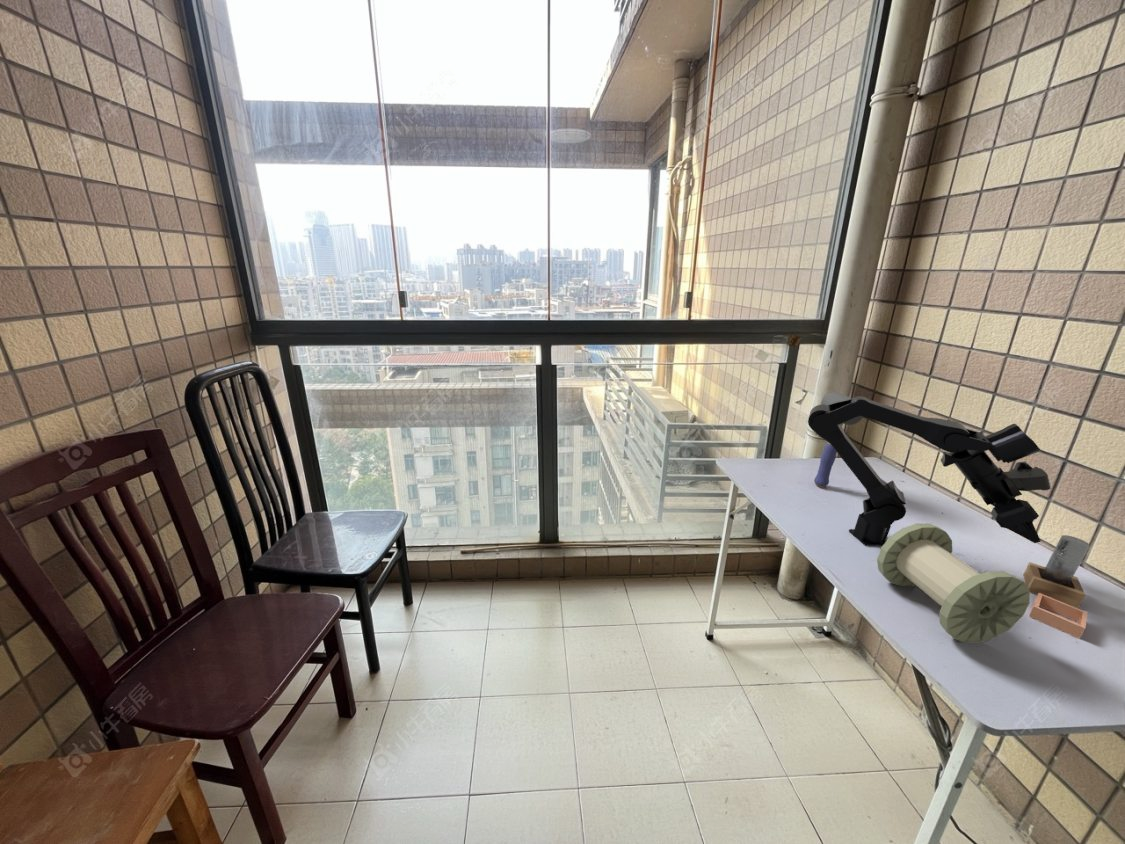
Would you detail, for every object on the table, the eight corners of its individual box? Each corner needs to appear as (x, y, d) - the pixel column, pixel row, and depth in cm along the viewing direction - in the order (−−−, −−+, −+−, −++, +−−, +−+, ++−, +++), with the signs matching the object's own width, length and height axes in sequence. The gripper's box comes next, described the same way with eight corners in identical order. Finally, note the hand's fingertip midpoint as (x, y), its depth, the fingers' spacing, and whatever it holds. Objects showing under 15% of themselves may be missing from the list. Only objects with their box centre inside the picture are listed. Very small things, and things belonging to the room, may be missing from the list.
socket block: (1028, 616, 86) (1033, 606, 86) (1033, 602, 90) (1038, 592, 90) (1079, 638, 81) (1085, 628, 81) (1082, 622, 85) (1087, 612, 85)
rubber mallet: (842, 496, 131) (870, 402, 120) (816, 494, 131) (842, 401, 121) (823, 478, 142) (847, 391, 132) (799, 476, 143) (821, 389, 133)
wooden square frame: (1027, 591, 93) (1034, 578, 92) (1022, 574, 99) (1029, 562, 98) (1077, 608, 89) (1085, 595, 88) (1070, 590, 94) (1077, 577, 93)
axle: (1050, 597, 92) (1077, 546, 87) (1030, 584, 96) (1055, 535, 91) (1067, 597, 92) (1096, 546, 88) (1047, 584, 96) (1073, 535, 91)
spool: (869, 581, 95) (889, 523, 89) (932, 580, 96) (955, 523, 91) (935, 643, 79) (964, 577, 74) (1009, 641, 80) (1043, 576, 75)
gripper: (1043, 471, 82) (1101, 539, 81) (1013, 441, 97) (1061, 498, 96) (974, 495, 89) (1026, 558, 87) (956, 463, 104) (1000, 517, 102)
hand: (1030, 531), depth 93 cm, fingers open, 9 cm apart
